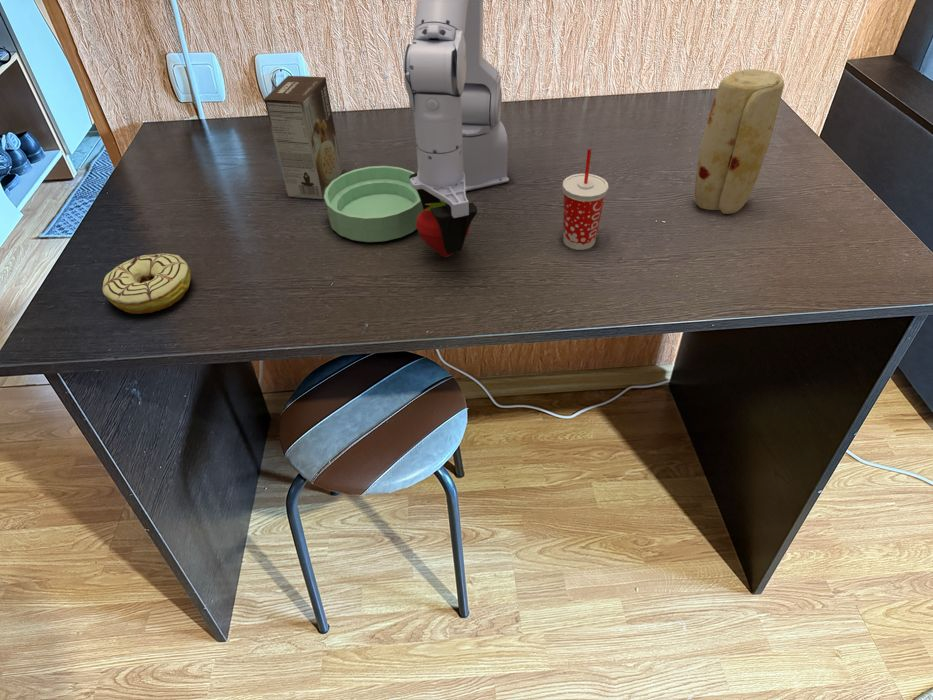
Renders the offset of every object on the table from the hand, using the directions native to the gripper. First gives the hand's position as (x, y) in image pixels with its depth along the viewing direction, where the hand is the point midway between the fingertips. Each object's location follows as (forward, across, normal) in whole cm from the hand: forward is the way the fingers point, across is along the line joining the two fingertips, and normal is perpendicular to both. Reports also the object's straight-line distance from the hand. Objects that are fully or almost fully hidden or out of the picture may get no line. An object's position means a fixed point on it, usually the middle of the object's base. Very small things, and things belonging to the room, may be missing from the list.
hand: (444, 236), depth 89 cm
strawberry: (+3, 0, 0) cm, 3 cm away
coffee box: (+3, -27, -13) cm, 30 cm away
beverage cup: (+3, +4, +19) cm, 20 cm away
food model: (+3, +4, +43) cm, 43 cm away
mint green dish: (+3, -14, -6) cm, 15 cm away
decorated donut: (+3, -7, -39) cm, 40 cm away
